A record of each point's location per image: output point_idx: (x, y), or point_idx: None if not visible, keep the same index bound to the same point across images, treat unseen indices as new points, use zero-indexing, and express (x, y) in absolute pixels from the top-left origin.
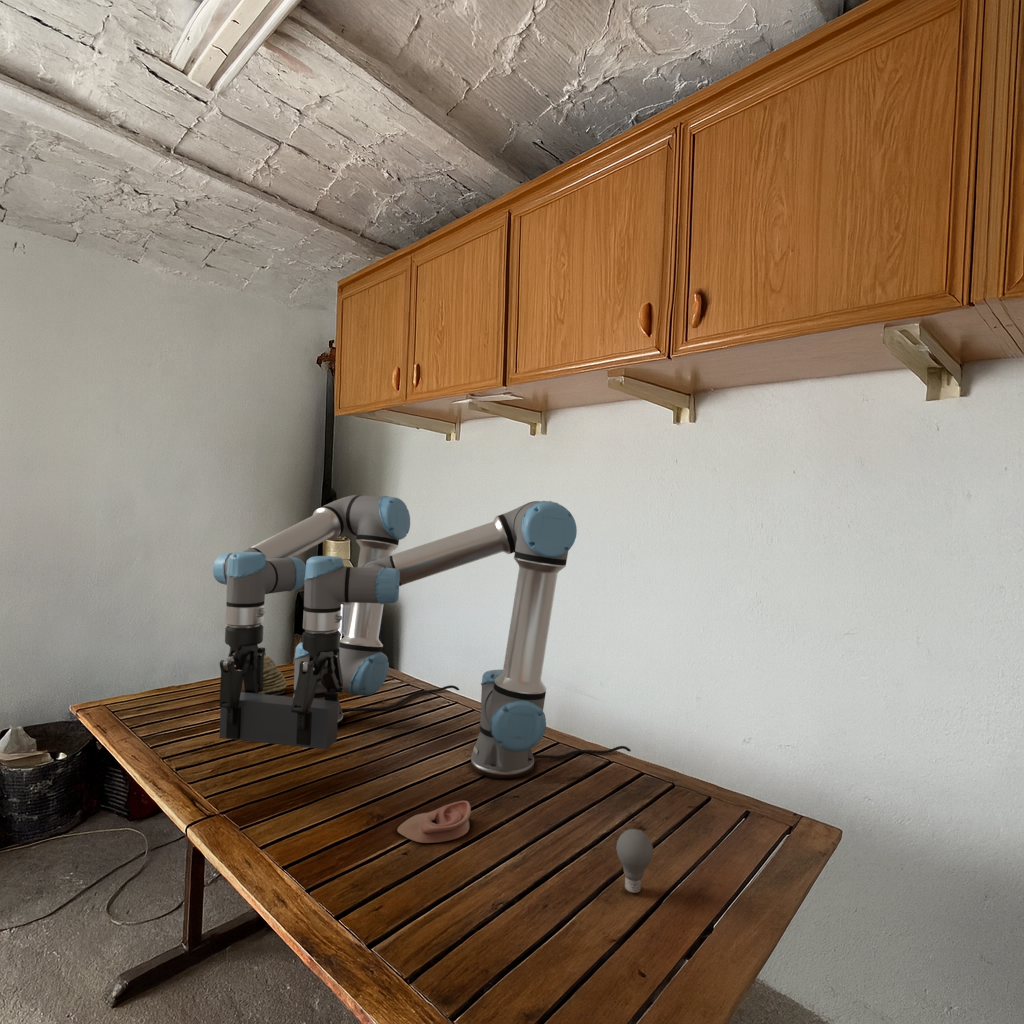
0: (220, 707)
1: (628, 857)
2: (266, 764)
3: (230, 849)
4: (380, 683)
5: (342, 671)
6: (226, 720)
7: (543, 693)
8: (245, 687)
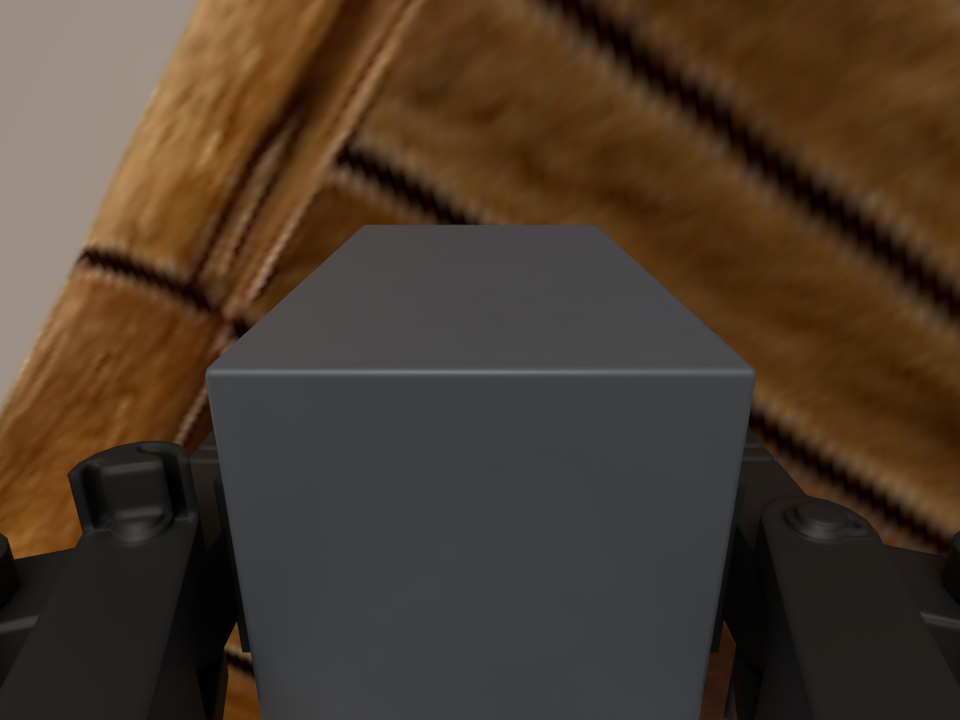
0: (268, 312)
1: None
2: (796, 242)
3: (22, 513)
4: None
5: None
6: (208, 438)
7: None
8: (791, 662)
